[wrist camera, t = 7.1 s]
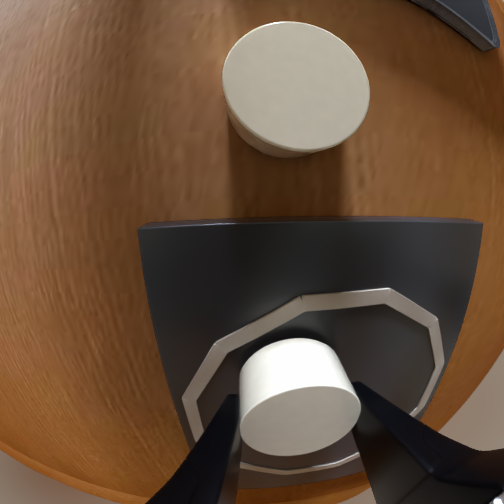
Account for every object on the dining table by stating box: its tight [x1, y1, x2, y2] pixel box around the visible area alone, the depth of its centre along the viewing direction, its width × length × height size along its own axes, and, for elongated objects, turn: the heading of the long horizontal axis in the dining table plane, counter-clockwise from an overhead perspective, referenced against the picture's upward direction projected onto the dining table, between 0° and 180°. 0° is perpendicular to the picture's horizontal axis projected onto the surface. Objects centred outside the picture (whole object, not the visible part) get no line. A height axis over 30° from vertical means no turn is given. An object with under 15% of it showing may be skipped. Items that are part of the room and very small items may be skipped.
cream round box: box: [222, 22, 370, 158], centre depth 7 cm, size 4×4×2 cm
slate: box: [138, 216, 483, 489], centre depth 11 cm, size 14×18×1 cm
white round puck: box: [239, 338, 361, 456], centre depth 8 cm, size 4×4×2 cm
